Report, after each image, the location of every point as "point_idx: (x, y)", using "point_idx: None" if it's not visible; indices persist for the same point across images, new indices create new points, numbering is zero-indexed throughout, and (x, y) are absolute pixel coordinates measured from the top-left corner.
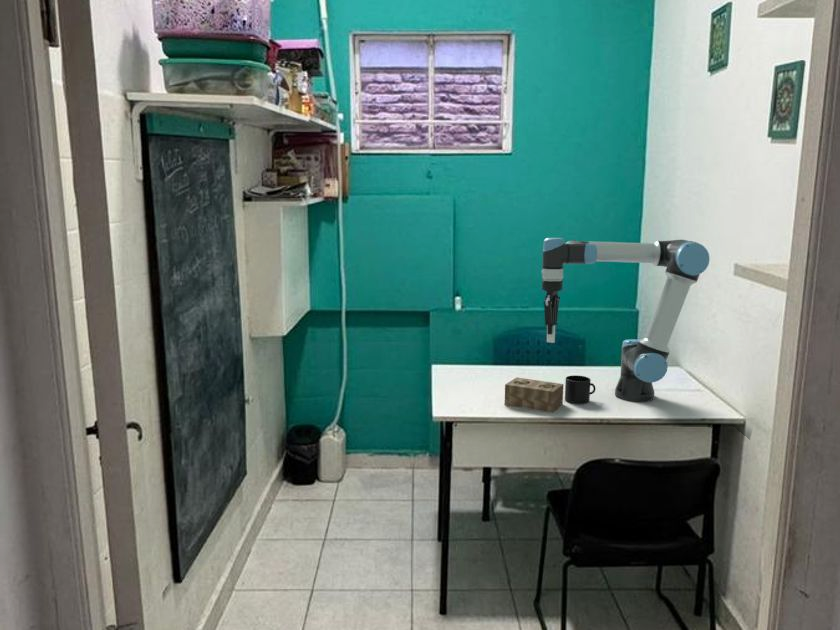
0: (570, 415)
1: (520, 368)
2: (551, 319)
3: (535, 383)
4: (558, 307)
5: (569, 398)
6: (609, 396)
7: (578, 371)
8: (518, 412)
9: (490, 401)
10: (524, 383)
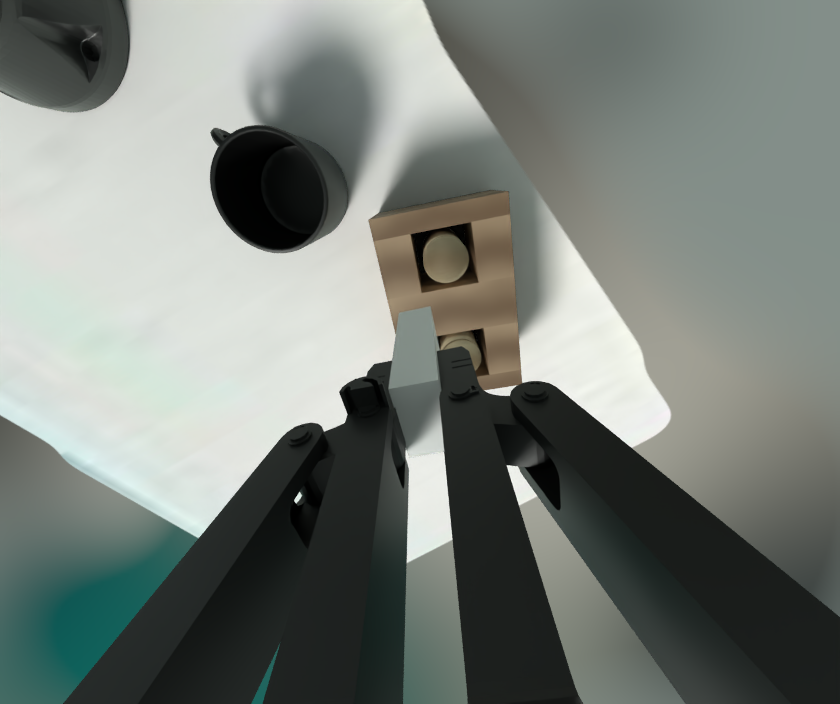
0: (480, 114)
1: (162, 494)
2: (589, 429)
3: (440, 313)
4: (89, 675)
5: (344, 201)
6: (145, 111)
7: (7, 369)
8: (552, 281)
9: (499, 394)
10: (471, 341)
